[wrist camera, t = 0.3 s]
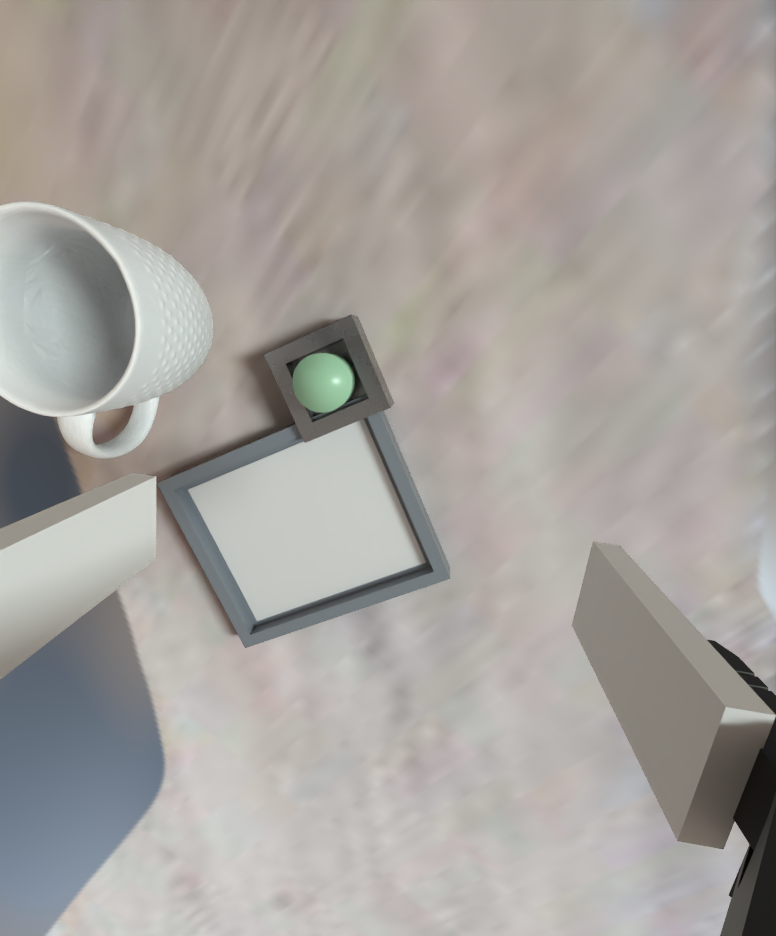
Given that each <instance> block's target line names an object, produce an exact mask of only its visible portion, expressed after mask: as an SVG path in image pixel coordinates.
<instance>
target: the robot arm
mask: <svg viewBox="0 0 776 936" xmlns="http://www.w3.org/2000/svg"><path fill="white" fill-rule="evenodd" d="M155 559H156V476H151V475H144V474H137V473H130V474H128V475H126V476H123V477H121V478H119V479H116V480H114V481H112V482H109V483H107V484H105V485H102V486H100V487H97V488H95V489H93V490H90V491H88V492H86V493H83V494H81V495H79V496H76V497H74V498H72V499H70V500H67V501H65V502H62V503H60V504H58V505H55V506H53V507H50V508H48V509H46V510H43V511H41V512H39V513H37V514H34V515H32V516H29V517H27V518H25V519H22V520H20V521H18V522H15V523H13V524H11V525H8V526H6V527H4V528H1V529H0V679H1V678H2V677H4V676H5V675H6V674H8V673H9V672H10V671H12V670H13V669H14V668H15V667H17V666H18V665H19V664H20V663H22V662H23V661H24V660H26V659H27V658H28V657H30V656H31V655H32V654H34V653H35V652H36V651H37V650H38V649H40V648H41V647H43V646H44V645H45V644H46V643H48V642H49V641H50V640H52V639H53V638H54V637H56V636H57V635H58V634H59V633H61V632H62V631H63V630H64V629H66V628H67V627H68V626H70V625H71V624H72V623H74V622H75V621H76V620H78V619H79V618H80V617H81V616H83V615H84V614H85V613H87V612H88V611H89V610H90V609H92V608H93V607H94V606H96V605H97V604H98V603H100V602H101V601H102V600H103V599H105V598H106V597H107V596H109V595H110V594H111V593H113V592H114V591H115V590H116V589H118V588H119V587H120V586H122V585H123V584H124V583H126V582H127V581H128V580H129V579H131V578H132V577H133V576H135V575H136V574H137V573H138V572H140V571H141V570H142V569H144V568H145V567H146V566H148V565H149V564H150V563H151V562H153V561H154V560H155ZM572 626H573V628H574V630H575V633H576V635H577V637H578V639H579V641H580V643H581V645H582V647H583V649H584V651H585V653H586V655H587V657H588V659H589V661H590V663H591V665H592V667H593V669H594V671H595V673H596V675H597V677H598V679H599V682H600V684H601V686H602V688H603V690H604V692H605V694H606V696H607V698H608V700H609V702H610V704H611V706H612V708H613V710H614V712H615V714H616V716H617V718H618V720H619V722H620V724H621V726H622V729H623V731H624V733H625V735H626V737H627V739H628V741H629V743H630V745H631V747H632V749H633V751H634V753H635V755H636V757H637V759H638V761H639V763H640V765H641V767H642V769H643V771H644V773H645V776H646V778H647V780H648V782H649V784H650V786H651V788H652V790H653V792H654V794H655V796H656V798H657V800H658V802H659V804H660V806H661V808H662V810H663V812H664V814H665V816H666V818H667V820H668V823H669V825H670V827H671V829H672V831H673V833H674V835H675V837H676V839H677V841H681V842H686V843H692V844H697V845H703V846H708V847H714V848H719V849H724V846H725V844H726V841H727V839H728V836H729V834H730V831H731V829H732V826H733V824H734V821H735V822H736V823H737V825H738V827H739V828H740V830H741V831H742V833H743V834H744V836H745V838H746V839H747V841H748V842H749V844H750V845H749V847H748V850H747V852H746V855H745V857H744V859H743V862H742V864H741V867H740V869H739V872H738V874H737V876H736V879H735V881H734V884H733V886H732V888H731V891H730V893H729V896H730V897H732V899H731V902H730V905H729V908H728V912H727V915H726V918H725V922H724V925H723V928H722V932H721V935H720V936H776V695H775V694H774V693H773V692H772V691H768V687H767V686H766V685H765V684H764V683H763V682H762V681H761V680H760V679H759V678H758V677H755V676H754V673H753V672H752V671H751V670H750V669H749V668H748V667H747V665H746V664H745V663H744V662H743V661H742V660H741V659H740V658H739V657H738V656H736V655H735V654H733V653H732V652H730V651H729V650H727V649H726V648H724V647H723V646H721V645H720V644H718V643H717V642H715V641H712V640H706V639H705V637H704V636H703V635H702V634H701V633H700V632H699V631H698V630H697V629H696V628H695V627H694V626H693V624H692V623H691V622H690V621H689V620H688V619H687V618H686V617H685V616H684V615H683V614H682V612H681V611H680V610H679V609H678V608H677V607H676V606H675V605H674V604H673V603H672V602H671V601H670V599H669V598H668V597H667V596H666V595H665V594H664V593H663V592H662V591H661V590H660V589H659V588H658V586H657V585H656V584H655V583H654V582H653V581H652V580H651V579H650V578H649V577H648V576H647V574H646V573H645V572H644V571H643V570H642V569H641V568H640V567H639V566H638V565H637V564H636V563H635V561H634V560H633V559H632V558H631V557H630V556H629V555H628V554H627V553H626V552H625V551H624V550H623V548H622V547H621V546H619V545H613V544H606V543H599V542H593V543H592V547H591V551H590V555H589V559H588V563H587V567H586V571H585V575H584V579H583V583H582V587H581V591H580V595H579V599H578V603H577V607H576V611H575V615H574V619H573V623H572Z"/></svg>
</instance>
